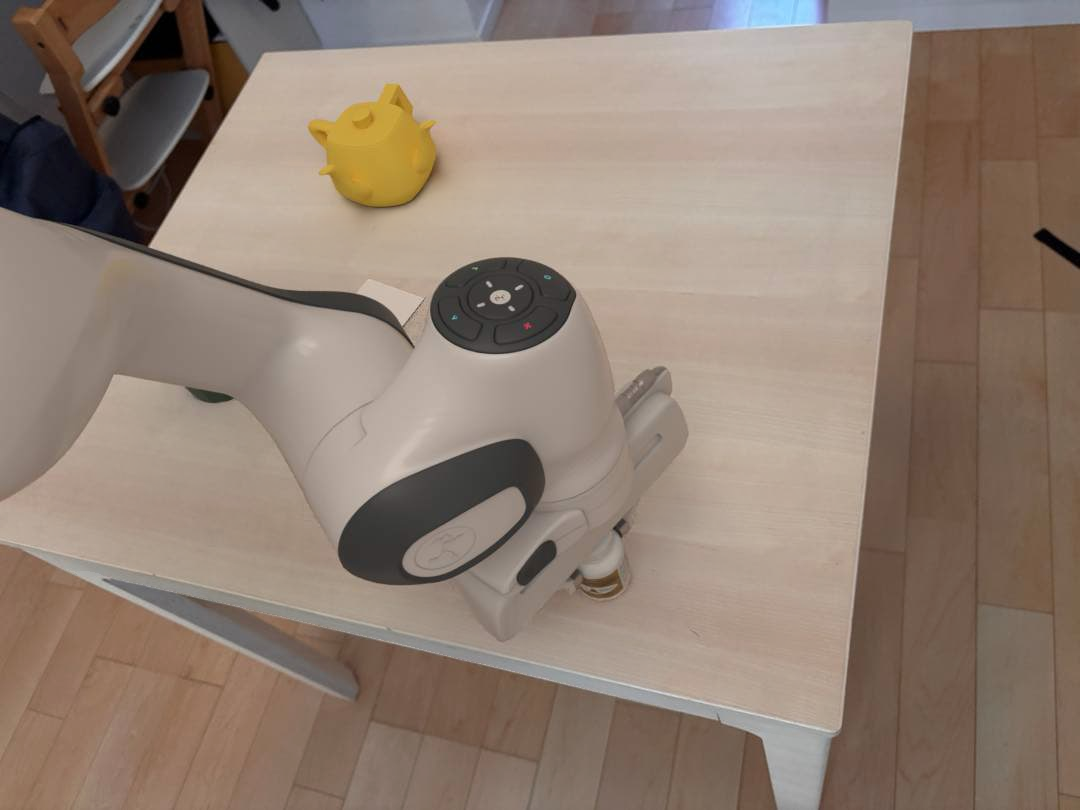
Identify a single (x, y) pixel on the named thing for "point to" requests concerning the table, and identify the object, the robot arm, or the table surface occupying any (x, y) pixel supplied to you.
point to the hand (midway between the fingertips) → (595, 554)
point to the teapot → (377, 150)
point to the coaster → (392, 299)
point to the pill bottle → (606, 569)
